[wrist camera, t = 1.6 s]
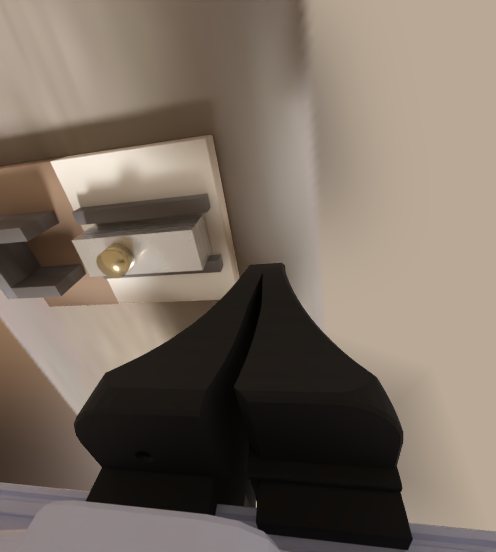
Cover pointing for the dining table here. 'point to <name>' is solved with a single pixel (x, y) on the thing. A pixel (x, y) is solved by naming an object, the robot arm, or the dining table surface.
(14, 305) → the dining table surface
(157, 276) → the door and jamb
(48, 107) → the dining table surface
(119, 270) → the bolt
